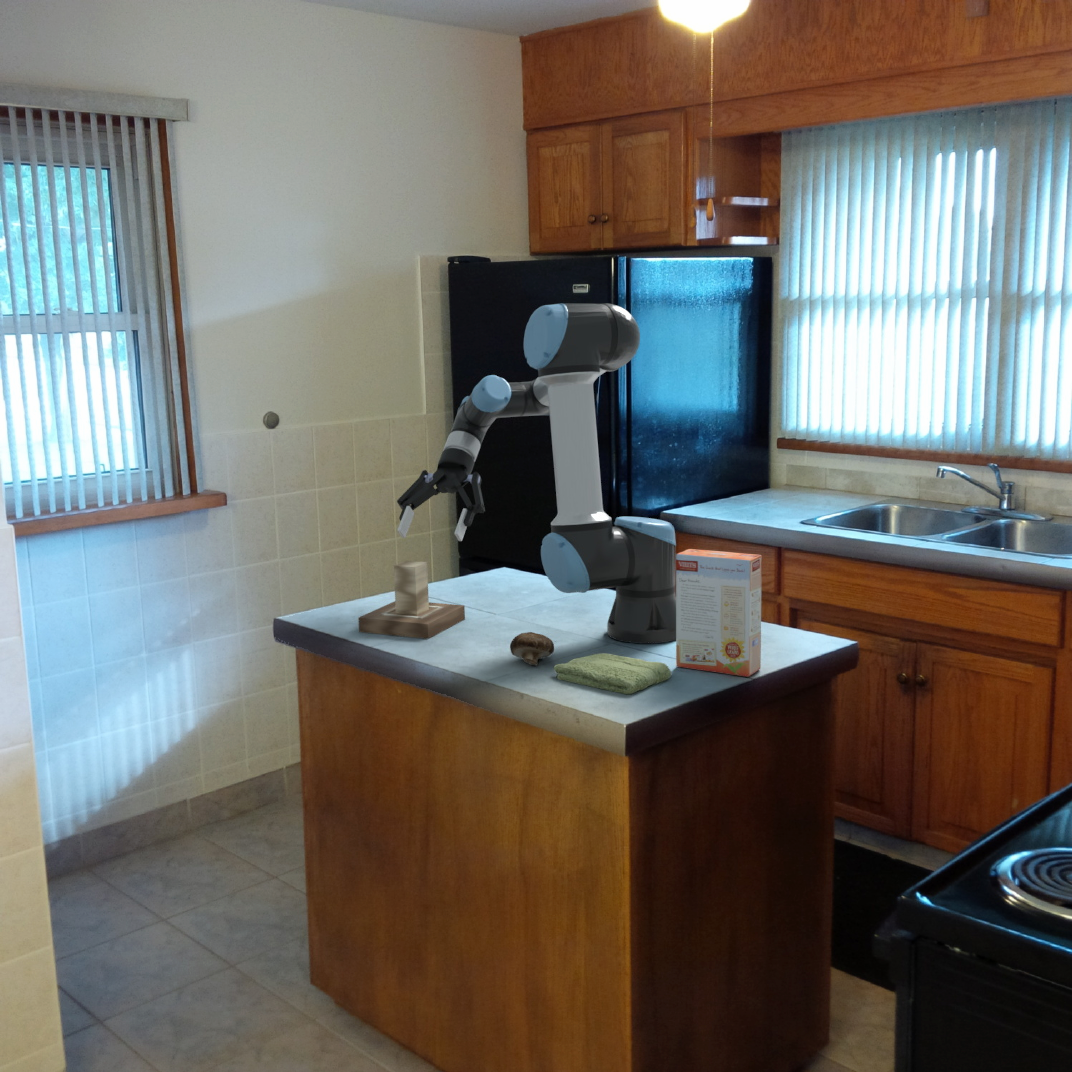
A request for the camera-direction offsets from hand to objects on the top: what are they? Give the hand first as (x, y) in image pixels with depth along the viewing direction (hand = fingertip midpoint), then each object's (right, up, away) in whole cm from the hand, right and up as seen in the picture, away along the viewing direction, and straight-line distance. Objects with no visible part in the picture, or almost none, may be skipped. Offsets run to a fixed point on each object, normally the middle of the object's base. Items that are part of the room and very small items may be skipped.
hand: (429, 536), depth 244 cm
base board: (-3, -18, -5) cm, 19 cm away
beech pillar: (-3, -16, -5) cm, 17 cm away
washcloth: (+36, -25, -43) cm, 61 cm away
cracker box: (+55, -24, -39) cm, 71 cm away
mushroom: (+22, -23, -32) cm, 45 cm away
